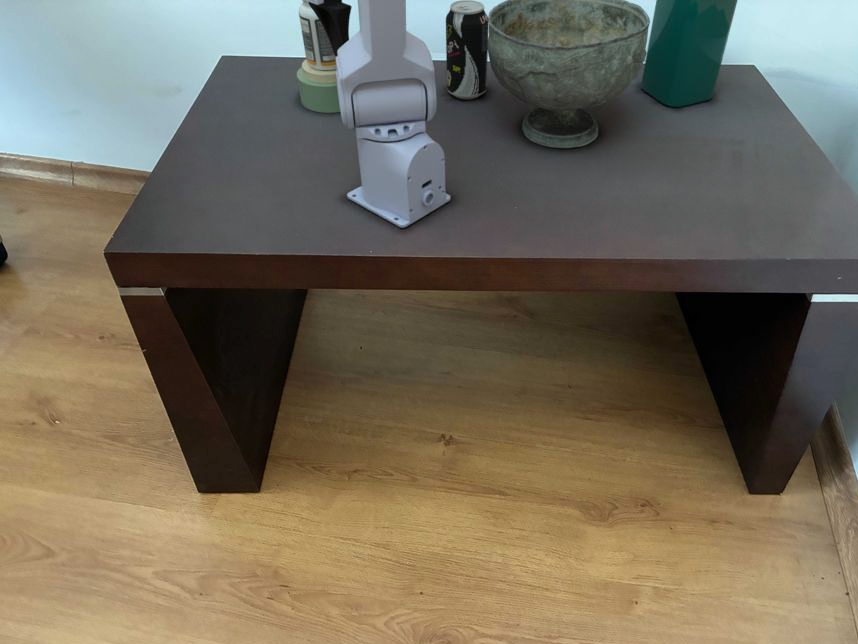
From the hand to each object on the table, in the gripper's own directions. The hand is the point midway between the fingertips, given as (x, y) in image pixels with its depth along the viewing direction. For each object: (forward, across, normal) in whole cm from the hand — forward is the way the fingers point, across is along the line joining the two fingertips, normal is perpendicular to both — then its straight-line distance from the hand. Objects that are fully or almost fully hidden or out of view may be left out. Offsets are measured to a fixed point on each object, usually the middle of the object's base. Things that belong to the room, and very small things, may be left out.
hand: (365, 48), depth 91 cm
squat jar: (+9, 0, -8) cm, 12 cm away
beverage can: (+9, -14, +5) cm, 18 cm away
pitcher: (+9, -34, +28) cm, 45 cm away
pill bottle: (+4, 0, -8) cm, 9 cm away
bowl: (+9, -14, +21) cm, 27 cm away
